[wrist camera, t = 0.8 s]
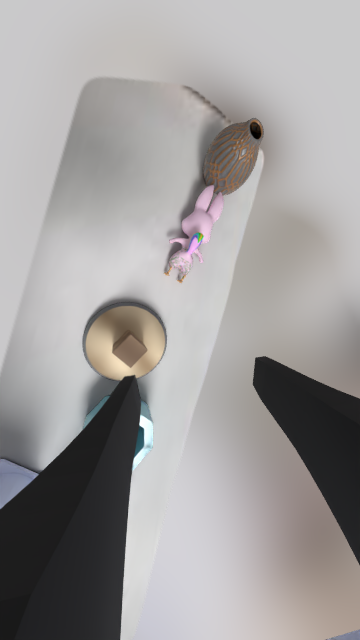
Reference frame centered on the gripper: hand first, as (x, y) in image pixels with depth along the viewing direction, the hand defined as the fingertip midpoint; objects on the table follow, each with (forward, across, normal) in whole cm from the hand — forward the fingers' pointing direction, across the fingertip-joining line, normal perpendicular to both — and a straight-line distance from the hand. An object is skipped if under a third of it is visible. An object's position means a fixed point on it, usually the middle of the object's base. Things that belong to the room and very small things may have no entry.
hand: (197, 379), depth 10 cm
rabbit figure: (+22, -4, -9) cm, 24 cm away
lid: (+15, +8, +5) cm, 17 cm away
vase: (+26, -9, -18) cm, 33 cm away
